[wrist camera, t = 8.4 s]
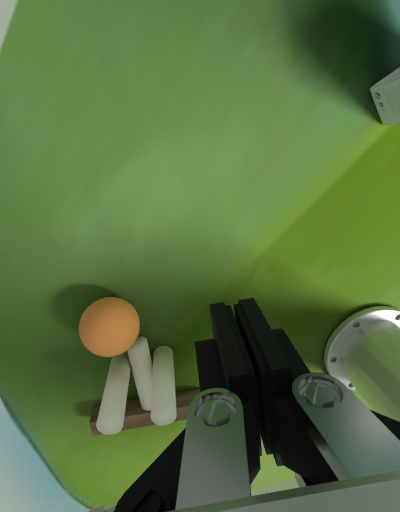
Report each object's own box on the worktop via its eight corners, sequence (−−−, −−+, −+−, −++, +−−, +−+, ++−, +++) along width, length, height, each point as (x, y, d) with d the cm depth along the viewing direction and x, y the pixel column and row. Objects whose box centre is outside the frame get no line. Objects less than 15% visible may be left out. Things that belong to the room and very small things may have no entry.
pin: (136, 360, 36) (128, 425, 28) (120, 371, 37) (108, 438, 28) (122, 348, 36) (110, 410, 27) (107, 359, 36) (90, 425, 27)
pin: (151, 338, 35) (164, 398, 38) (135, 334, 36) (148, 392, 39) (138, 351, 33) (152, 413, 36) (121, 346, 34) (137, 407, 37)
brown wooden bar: (93, 405, 38) (89, 422, 36) (203, 387, 39) (206, 403, 37) (97, 417, 39) (93, 435, 36) (205, 399, 40) (207, 415, 37)
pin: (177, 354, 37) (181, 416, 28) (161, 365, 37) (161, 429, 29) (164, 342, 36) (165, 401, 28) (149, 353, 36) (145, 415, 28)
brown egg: (143, 360, 29) (152, 298, 31) (77, 353, 26) (92, 286, 28) (124, 359, 34) (133, 306, 36) (68, 353, 31) (81, 296, 33)
